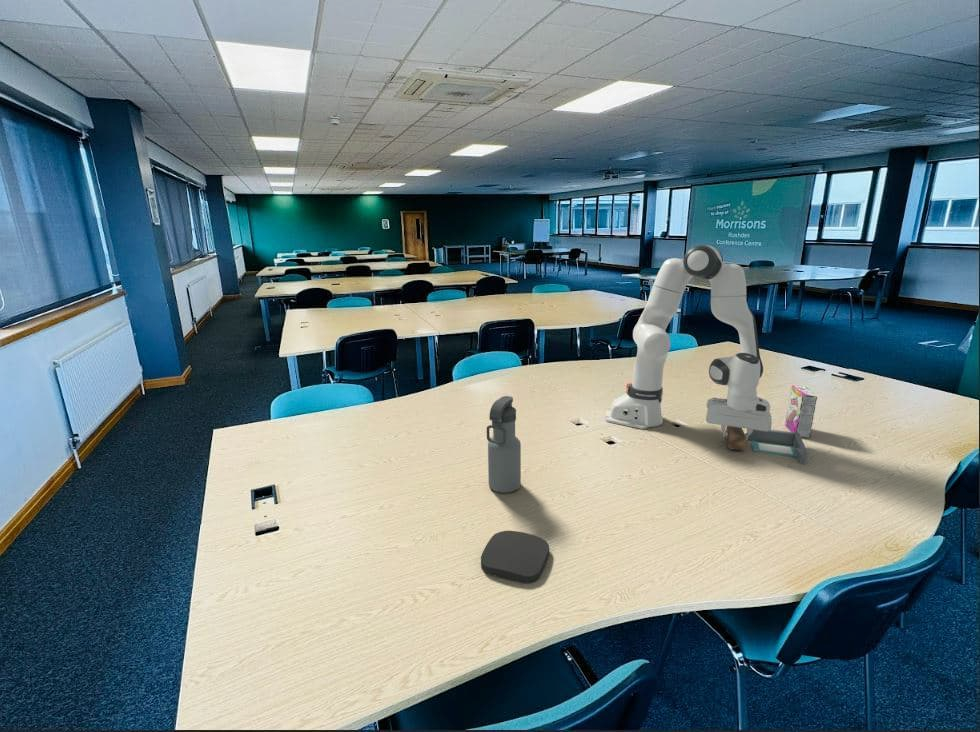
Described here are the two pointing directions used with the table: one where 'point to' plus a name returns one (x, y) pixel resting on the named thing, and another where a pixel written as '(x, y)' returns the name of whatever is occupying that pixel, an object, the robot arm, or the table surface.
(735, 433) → the walnut block
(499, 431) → the water bottle
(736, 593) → the table surface
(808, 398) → the candy bar box
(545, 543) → the media streaming box
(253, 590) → the table surface
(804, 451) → the corner bracket
